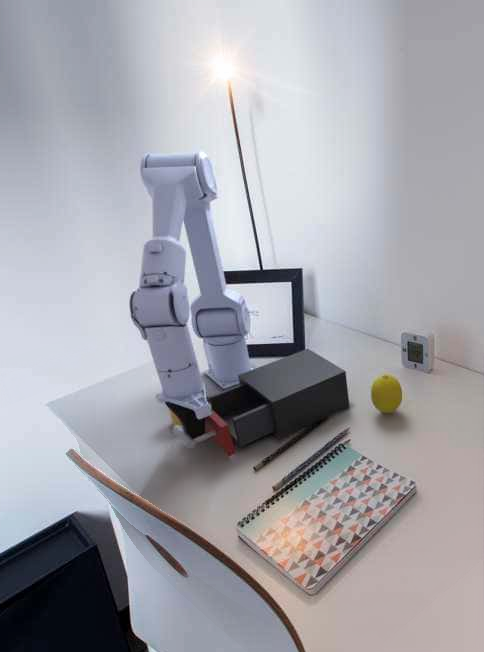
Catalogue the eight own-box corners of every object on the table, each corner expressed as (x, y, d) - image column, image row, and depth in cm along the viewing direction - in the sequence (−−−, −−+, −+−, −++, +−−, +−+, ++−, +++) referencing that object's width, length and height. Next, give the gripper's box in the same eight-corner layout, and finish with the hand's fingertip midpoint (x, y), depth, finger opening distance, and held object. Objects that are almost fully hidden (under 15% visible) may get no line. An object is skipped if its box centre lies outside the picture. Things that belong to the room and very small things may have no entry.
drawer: (198, 471, 82) (189, 441, 79) (171, 439, 89) (162, 410, 86) (301, 422, 92) (296, 394, 90) (269, 397, 100) (264, 371, 97)
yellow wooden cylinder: (170, 423, 95) (163, 402, 93) (192, 414, 97) (186, 394, 95) (179, 433, 92) (172, 411, 90) (201, 423, 95) (195, 402, 92)
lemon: (399, 423, 93) (397, 384, 89) (369, 420, 94) (365, 381, 90) (406, 405, 98) (404, 368, 94) (377, 403, 99) (374, 366, 95)
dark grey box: (279, 440, 90) (272, 402, 86) (245, 410, 98) (237, 375, 94) (349, 406, 98) (345, 371, 95) (312, 381, 106) (307, 348, 103)
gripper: (132, 355, 82) (156, 427, 88) (166, 390, 72) (190, 468, 79) (178, 341, 86) (197, 410, 92) (216, 372, 76) (234, 447, 83)
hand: (197, 436), depth 86 cm, fingers closed, pressing on drawer
